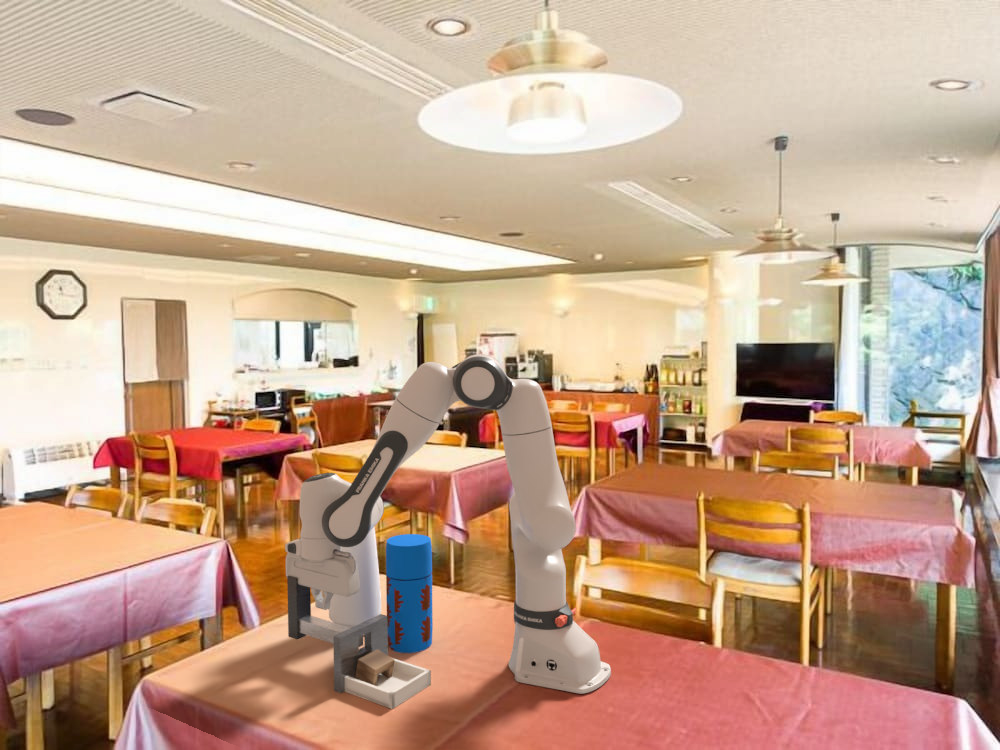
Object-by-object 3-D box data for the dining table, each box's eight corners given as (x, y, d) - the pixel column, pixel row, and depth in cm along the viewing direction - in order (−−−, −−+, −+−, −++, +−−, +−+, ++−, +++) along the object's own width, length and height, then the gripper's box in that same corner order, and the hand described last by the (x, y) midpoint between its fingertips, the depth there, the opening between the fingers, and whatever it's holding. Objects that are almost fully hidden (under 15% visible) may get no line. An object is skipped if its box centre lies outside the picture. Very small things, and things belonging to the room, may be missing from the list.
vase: (364, 613, 187) (362, 508, 186) (391, 627, 177) (390, 517, 176) (319, 626, 178) (317, 517, 177) (346, 642, 169) (344, 526, 167)
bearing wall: (388, 667, 156) (387, 615, 155) (341, 693, 144) (340, 638, 144) (381, 664, 157) (380, 614, 156) (334, 690, 145) (333, 636, 145)
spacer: (391, 676, 150) (394, 659, 149) (372, 687, 145) (375, 670, 144) (374, 666, 152) (377, 649, 152) (355, 676, 147) (358, 659, 147)
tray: (430, 684, 148) (430, 670, 148) (392, 709, 138) (391, 694, 138) (384, 668, 155) (384, 655, 155) (344, 691, 145) (344, 677, 145)
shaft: (364, 651, 152) (364, 587, 152) (351, 657, 149) (350, 592, 148) (302, 630, 163) (301, 571, 163) (288, 636, 160) (287, 576, 160)
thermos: (427, 631, 175) (426, 532, 174) (437, 649, 165) (436, 543, 163) (383, 637, 171) (382, 536, 170) (390, 656, 161) (389, 548, 160)
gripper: (365, 550, 153) (367, 612, 154) (301, 536, 164) (303, 595, 165) (344, 557, 148) (345, 622, 148) (279, 543, 159) (281, 603, 160)
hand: (323, 608), depth 157 cm, fingers closed
